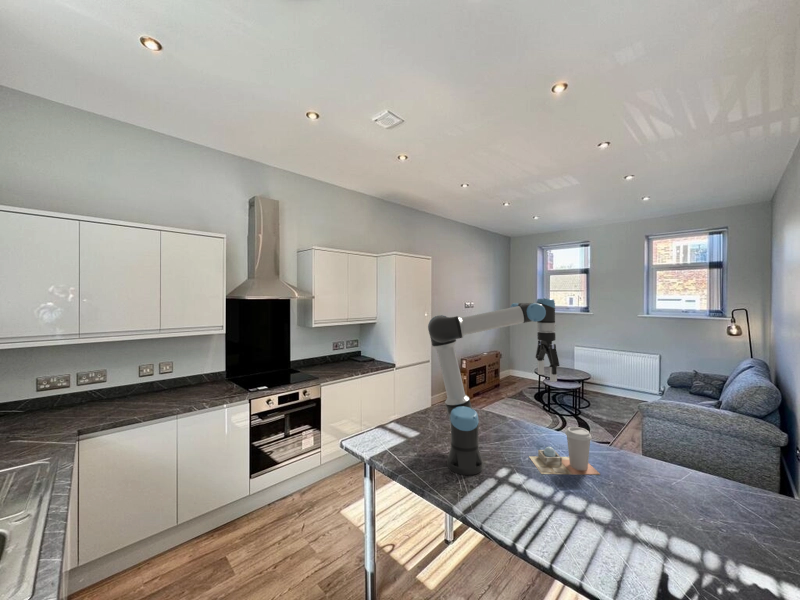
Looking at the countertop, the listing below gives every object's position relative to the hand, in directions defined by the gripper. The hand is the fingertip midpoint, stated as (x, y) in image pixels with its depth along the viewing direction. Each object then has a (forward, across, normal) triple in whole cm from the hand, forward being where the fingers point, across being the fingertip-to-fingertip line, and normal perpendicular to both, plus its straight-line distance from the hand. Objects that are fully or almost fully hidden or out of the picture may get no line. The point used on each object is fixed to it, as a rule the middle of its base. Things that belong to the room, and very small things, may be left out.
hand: (546, 377), depth 144 cm
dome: (+33, -9, +3) cm, 34 cm away
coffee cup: (+34, -14, -7) cm, 37 cm away
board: (+35, -12, -1) cm, 37 cm away
